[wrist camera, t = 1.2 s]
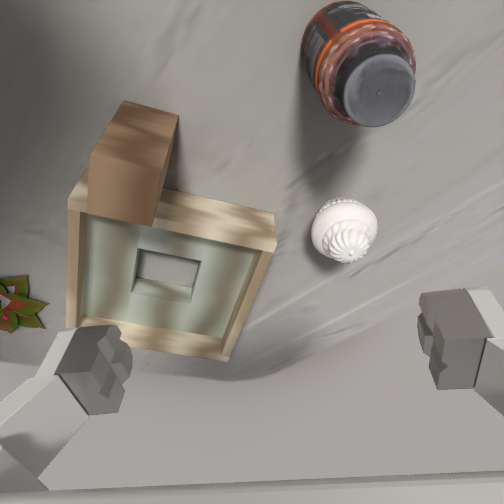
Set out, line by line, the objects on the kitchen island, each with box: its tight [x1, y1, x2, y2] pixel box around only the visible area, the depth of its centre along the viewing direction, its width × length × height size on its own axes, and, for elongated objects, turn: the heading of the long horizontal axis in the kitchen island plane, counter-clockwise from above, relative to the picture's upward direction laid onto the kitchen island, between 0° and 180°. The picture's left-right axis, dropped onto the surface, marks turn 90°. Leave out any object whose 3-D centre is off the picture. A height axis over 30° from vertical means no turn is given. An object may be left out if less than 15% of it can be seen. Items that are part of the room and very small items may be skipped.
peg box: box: [66, 170, 277, 362], centre depth 43 cm, size 18×18×5 cm
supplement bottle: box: [301, 1, 416, 127], centre depth 27 cm, size 6×6×11 cm
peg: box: [87, 101, 179, 227], centre depth 32 cm, size 4×4×10 cm
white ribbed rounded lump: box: [311, 197, 378, 263], centre depth 38 cm, size 6×6×7 cm
